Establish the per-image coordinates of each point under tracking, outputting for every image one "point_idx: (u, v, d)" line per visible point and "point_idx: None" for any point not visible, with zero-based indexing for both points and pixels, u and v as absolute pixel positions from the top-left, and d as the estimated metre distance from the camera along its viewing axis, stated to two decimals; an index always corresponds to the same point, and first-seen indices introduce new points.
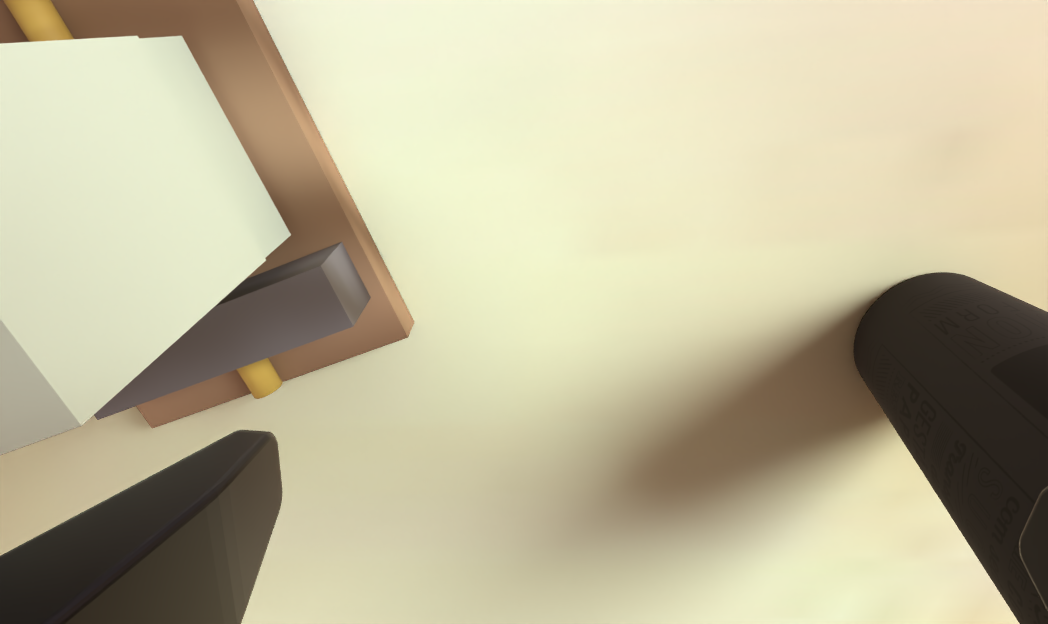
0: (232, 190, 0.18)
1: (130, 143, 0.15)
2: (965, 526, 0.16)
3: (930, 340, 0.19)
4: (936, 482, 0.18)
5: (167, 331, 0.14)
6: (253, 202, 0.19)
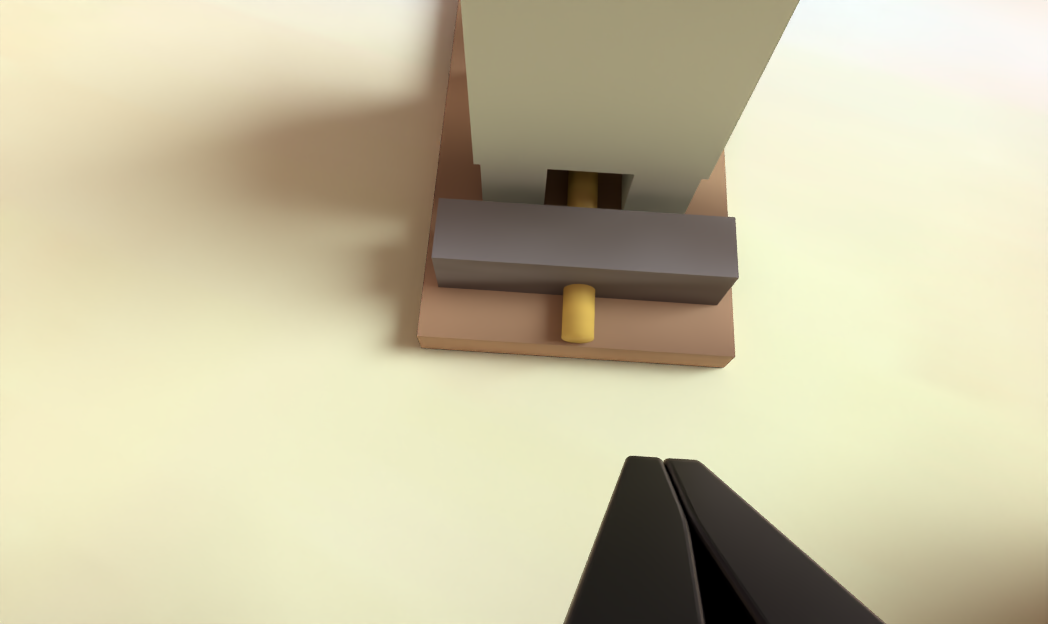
0: None
1: None
2: None
3: None
4: None
5: (767, 54, 0.16)
6: None
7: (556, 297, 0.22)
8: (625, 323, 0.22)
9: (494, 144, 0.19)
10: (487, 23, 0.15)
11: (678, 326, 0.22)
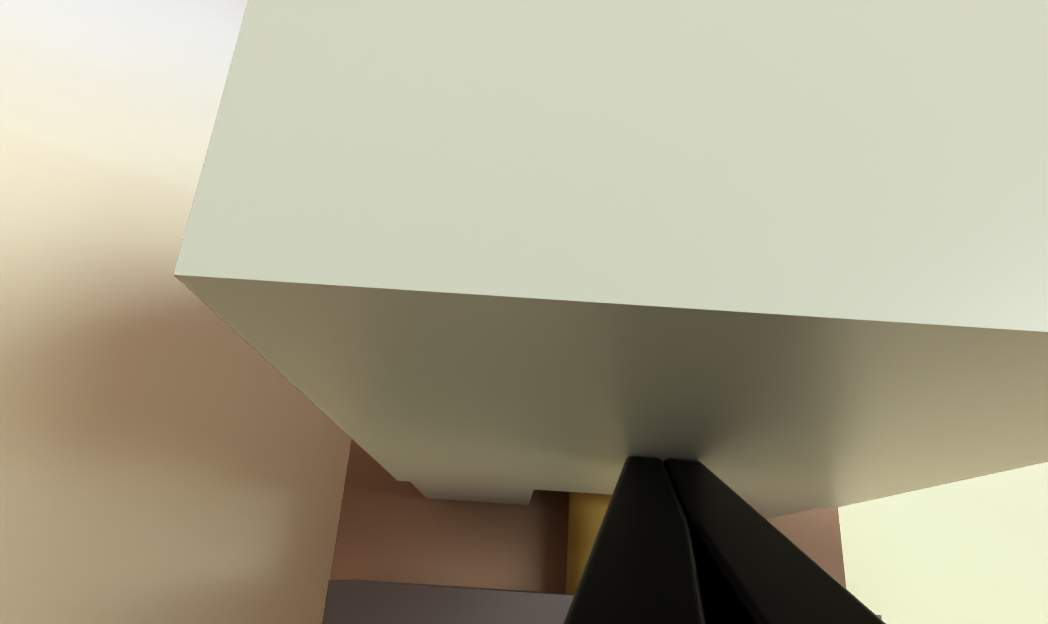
0: None
1: None
2: None
3: None
4: None
5: None
6: None
7: None
8: None
9: (430, 473, 0.10)
10: (367, 396, 0.06)
11: None
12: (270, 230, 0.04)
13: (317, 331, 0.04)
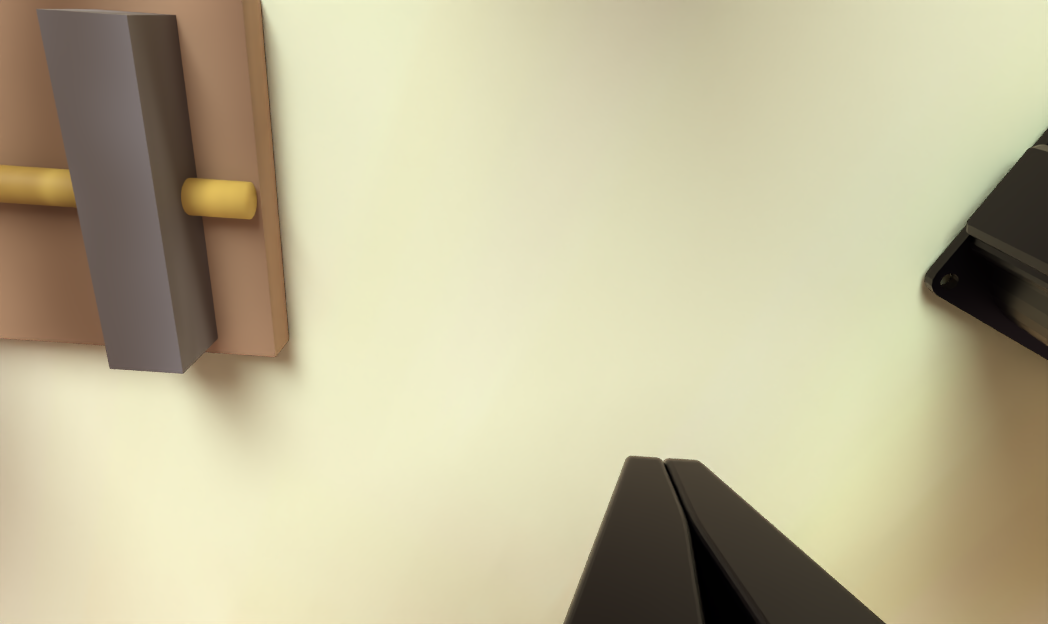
0: None
1: None
2: None
3: None
4: None
5: None
6: None
7: (204, 215, 0.19)
8: (222, 137, 0.18)
9: None
10: None
11: (214, 70, 0.18)
12: None
13: None
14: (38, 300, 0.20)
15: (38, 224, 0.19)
